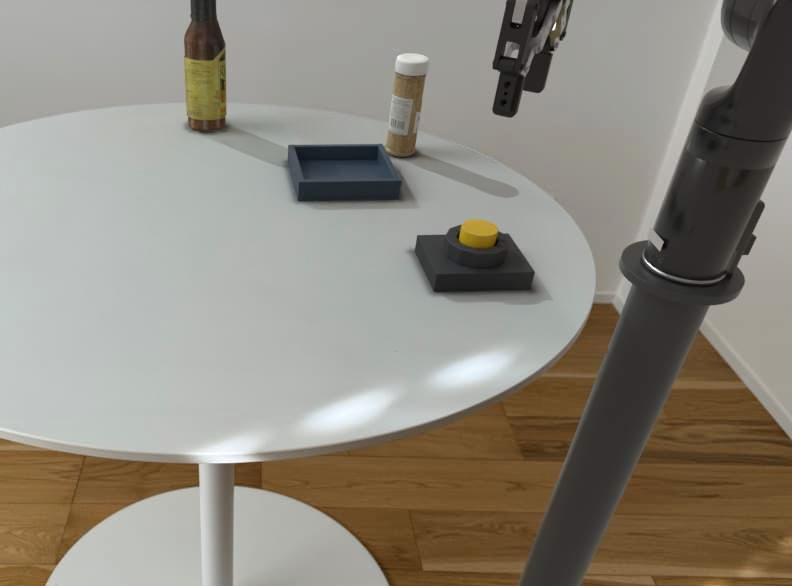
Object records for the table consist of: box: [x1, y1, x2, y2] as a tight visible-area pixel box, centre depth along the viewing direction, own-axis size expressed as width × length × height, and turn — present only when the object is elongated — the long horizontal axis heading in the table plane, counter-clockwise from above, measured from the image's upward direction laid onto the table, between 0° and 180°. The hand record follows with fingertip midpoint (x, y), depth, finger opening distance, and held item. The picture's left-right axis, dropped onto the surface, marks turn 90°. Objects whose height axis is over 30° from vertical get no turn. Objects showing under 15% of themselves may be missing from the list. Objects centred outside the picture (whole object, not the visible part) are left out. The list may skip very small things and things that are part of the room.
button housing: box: [414, 224, 536, 292], centre depth 89 cm, size 11×9×4 cm
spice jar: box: [384, 52, 430, 158], centre depth 112 cm, size 5×5×14 cm
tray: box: [286, 143, 403, 202], centre depth 108 cm, size 14×13×3 cm
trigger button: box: [459, 218, 499, 249], centre depth 87 cm, size 4×4×2 cm
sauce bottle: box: [183, 0, 227, 132], centre depth 117 cm, size 6×6×20 cm
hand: (518, 102), depth 76 cm, fingers open, 8 cm apart
